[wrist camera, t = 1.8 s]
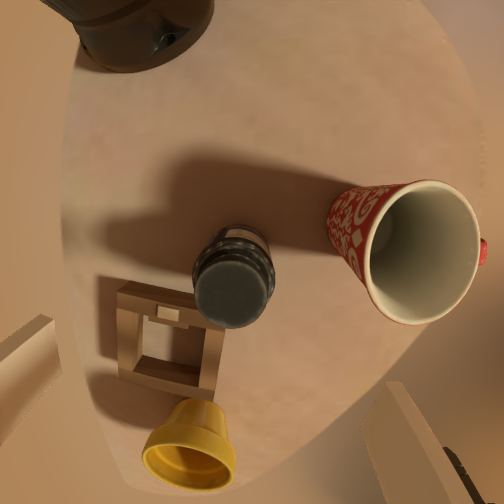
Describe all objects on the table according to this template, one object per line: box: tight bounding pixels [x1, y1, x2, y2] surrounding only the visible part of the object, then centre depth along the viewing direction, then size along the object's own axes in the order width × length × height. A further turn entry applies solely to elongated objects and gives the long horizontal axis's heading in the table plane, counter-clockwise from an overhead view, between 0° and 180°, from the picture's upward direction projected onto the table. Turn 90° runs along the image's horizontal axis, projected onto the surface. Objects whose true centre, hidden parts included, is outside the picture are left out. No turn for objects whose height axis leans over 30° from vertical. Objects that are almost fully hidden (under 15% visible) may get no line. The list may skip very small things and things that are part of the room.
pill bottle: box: [192, 225, 275, 329], centre depth 24 cm, size 6×6×11 cm
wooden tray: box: [117, 281, 226, 402], centre depth 29 cm, size 11×11×4 cm
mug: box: [327, 180, 487, 326], centre depth 22 cm, size 13×9×14 cm
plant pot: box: [142, 398, 236, 492], centre depth 29 cm, size 10×10×10 cm
